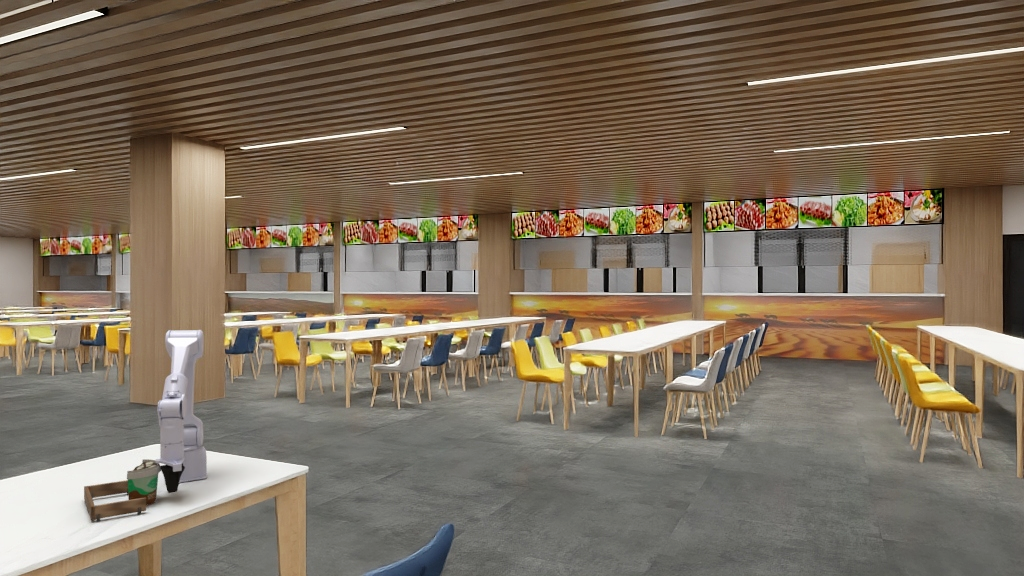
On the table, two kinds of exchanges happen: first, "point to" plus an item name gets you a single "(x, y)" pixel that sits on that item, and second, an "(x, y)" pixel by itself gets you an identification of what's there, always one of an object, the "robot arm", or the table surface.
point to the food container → (144, 481)
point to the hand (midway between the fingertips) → (172, 491)
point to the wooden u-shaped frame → (111, 508)
